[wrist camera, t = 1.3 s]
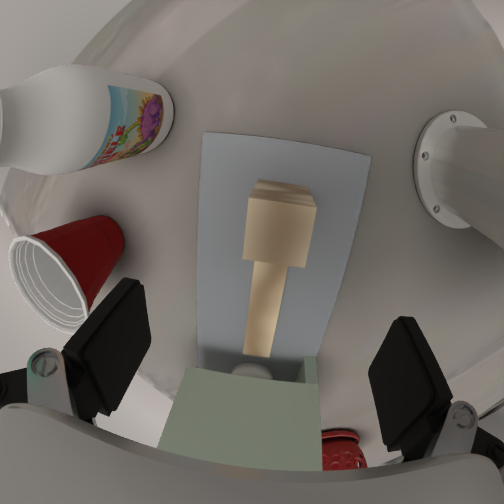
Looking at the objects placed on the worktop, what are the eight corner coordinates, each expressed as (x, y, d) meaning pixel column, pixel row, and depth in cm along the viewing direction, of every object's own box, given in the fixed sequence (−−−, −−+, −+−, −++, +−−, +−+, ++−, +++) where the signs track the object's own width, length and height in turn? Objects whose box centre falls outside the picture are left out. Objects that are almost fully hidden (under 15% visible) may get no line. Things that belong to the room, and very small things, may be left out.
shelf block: (315, 351, 33) (322, 479, 17) (298, 394, 37) (296, 499, 21) (199, 334, 33) (154, 455, 18) (200, 380, 38) (169, 480, 22)
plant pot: (292, 449, 47) (290, 496, 36) (311, 424, 41) (312, 481, 30) (347, 450, 46) (350, 494, 35) (374, 424, 40) (382, 476, 30)
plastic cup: (82, 272, 32) (27, 324, 21) (68, 195, 27) (-4, 231, 16) (149, 285, 31) (98, 353, 20) (140, 196, 26) (65, 241, 16)
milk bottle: (99, 120, 23) (-70, 154, 5) (145, 66, 20) (-31, 31, 2) (138, 169, 25) (-33, 252, 7) (191, 115, 23) (-1, 115, 4)
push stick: (307, 186, 23) (317, 207, 17) (274, 352, 32) (271, 397, 26) (258, 179, 24) (248, 197, 17) (239, 347, 32) (229, 391, 26)
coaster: (277, 365, 33) (276, 377, 31) (270, 391, 36) (269, 402, 34) (231, 359, 33) (228, 370, 32) (229, 385, 36) (226, 395, 34)
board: (368, 155, 22) (371, 156, 21) (295, 401, 38) (295, 406, 37) (206, 132, 23) (203, 132, 22) (201, 387, 39) (199, 392, 38)
